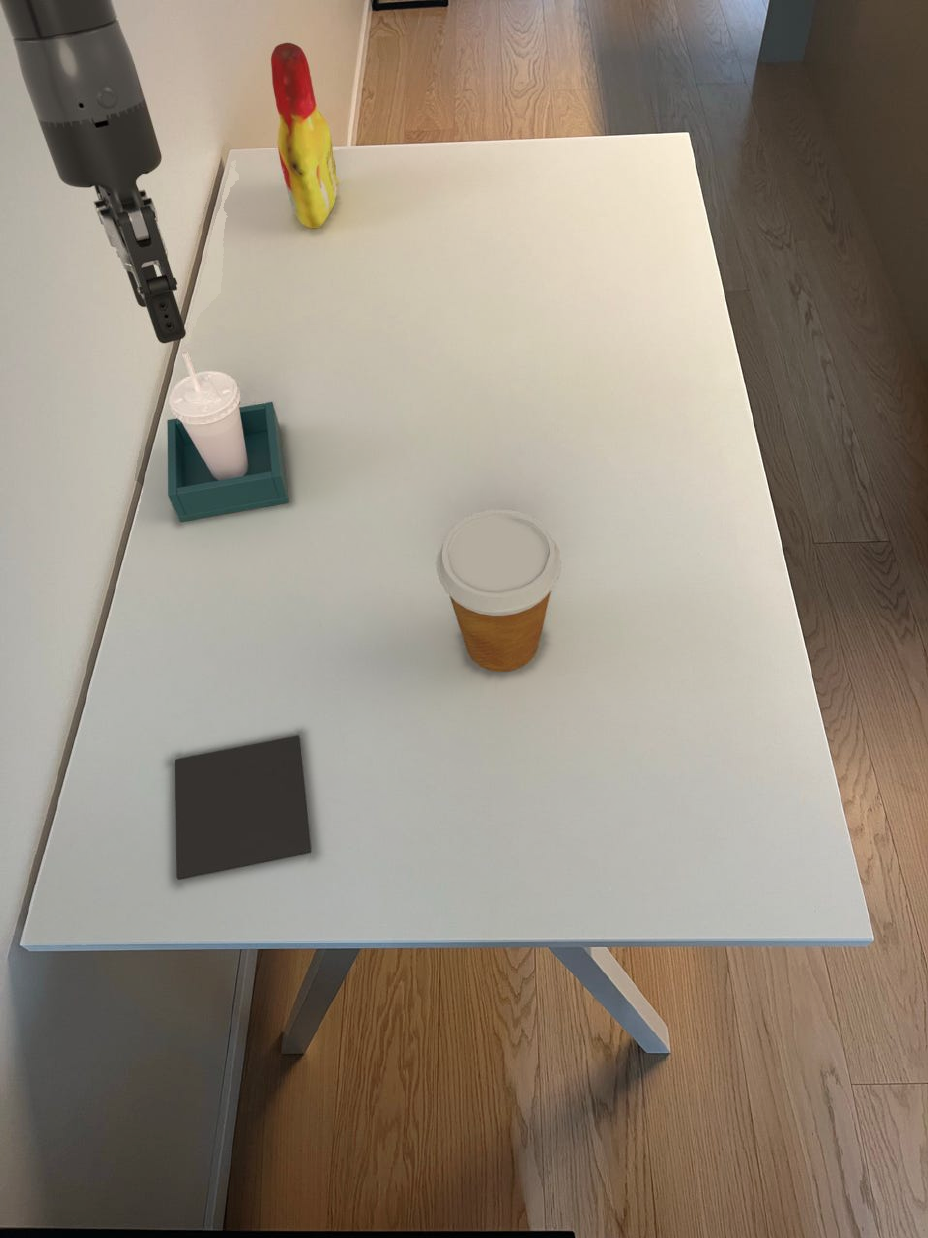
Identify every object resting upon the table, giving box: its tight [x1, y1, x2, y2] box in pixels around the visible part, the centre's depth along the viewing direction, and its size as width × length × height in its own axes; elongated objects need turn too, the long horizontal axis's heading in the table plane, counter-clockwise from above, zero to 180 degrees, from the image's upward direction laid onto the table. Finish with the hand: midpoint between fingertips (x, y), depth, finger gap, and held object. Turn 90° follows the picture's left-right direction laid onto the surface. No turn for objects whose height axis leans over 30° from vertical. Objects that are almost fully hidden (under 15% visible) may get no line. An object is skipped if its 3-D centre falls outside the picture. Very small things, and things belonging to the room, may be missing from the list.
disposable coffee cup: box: [436, 509, 562, 673], centre depth 77 cm, size 10×10×12 cm
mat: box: [174, 734, 312, 881], centre depth 74 cm, size 10×10×1 cm
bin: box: [166, 401, 290, 523], centre depth 94 cm, size 11×11×4 cm
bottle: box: [270, 42, 340, 229], centre depth 114 cm, size 12×6×20 cm, turn 177°
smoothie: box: [168, 349, 248, 480], centre depth 89 cm, size 6×6×14 cm
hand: (162, 320), depth 78 cm, fingers open, 8 cm apart
